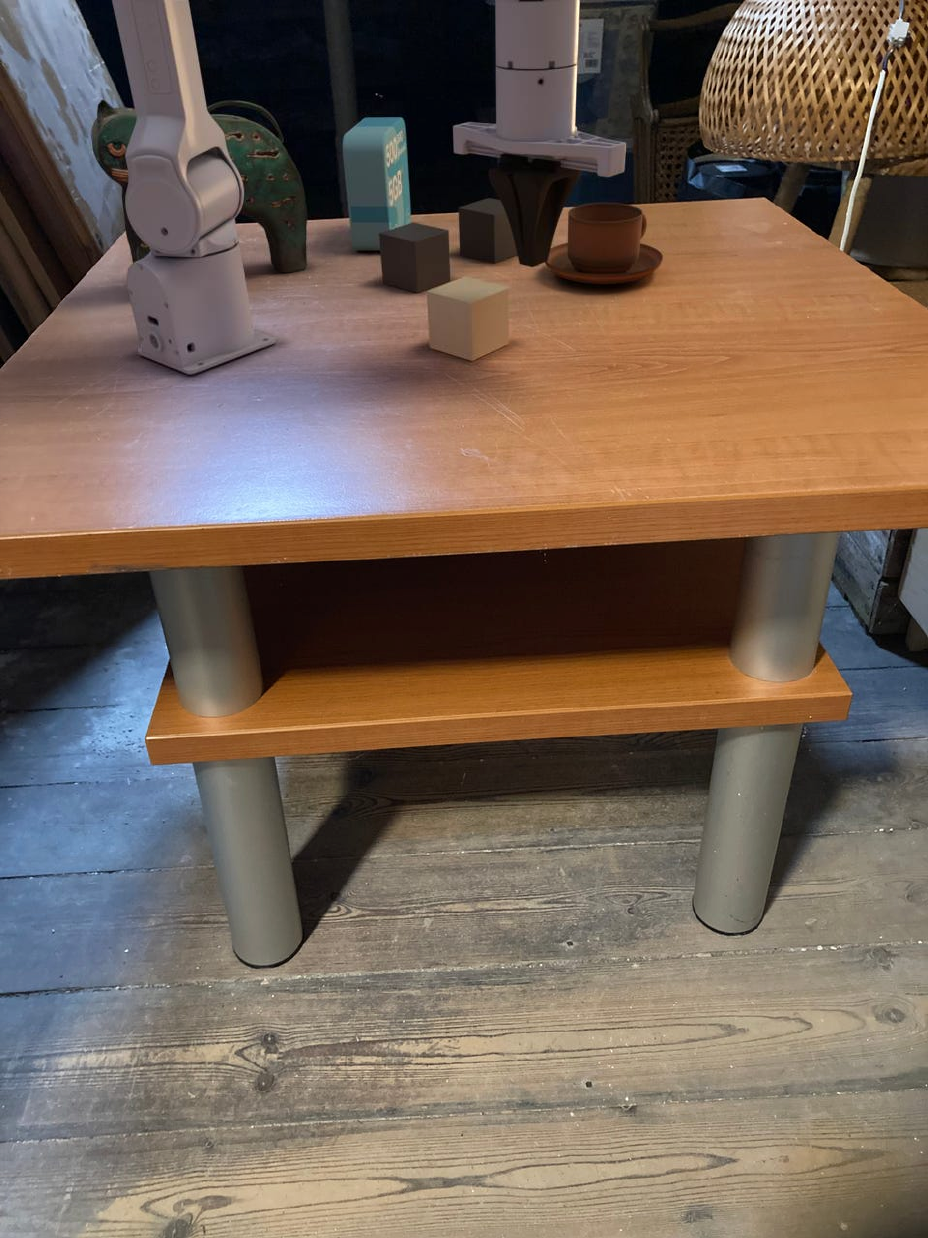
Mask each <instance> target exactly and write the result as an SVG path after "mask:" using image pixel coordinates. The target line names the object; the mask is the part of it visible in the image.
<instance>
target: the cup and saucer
mask: <svg viewBox="0 0 928 1238" xmlns="http://www.w3.org/2000/svg"><path fill="white" fill-rule="evenodd" d="M567 219H568V220H567V242H564V243H561V244H558V245H555V246H552V247H551V249H550V253H549V257H548V261H547V262H545V263H544V264H545V266H546V267H547V268H548V269H549V270H550V271H551V272H552V273H553V274H555V275H557V276H559V277H560V278H563V279H566V280H569V281H572V282H576V283H584V284H591V285H616V284H625V283H630V282H634V281H638V280H641V279H643V278H646V277H648V276H650V275H651V274H653V273H655V271H657V269H659V268H660V267H661V265H662V262H663V259H664V255H663V254H662V252H661V251H660V250H659V249H657V248H655V247H653V246H651V245H648V244H645V243H641V240H642V238H643V237H644V236H645V234H646V230H647V226H648V220H647V217H646V215H645V214H644V212H643V210H642V209H641V208H639V207H637V206H634V205H630V204H626V203H621V202H620V203H618V202H593V203H586V204H580V205H576V206H574V207H572V208H570V209H569V210H568V213H567Z"/></svg>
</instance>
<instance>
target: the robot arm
mask: <svg viewBox="0 0 928 1238" xmlns="http://www.w3.org/2000/svg"><path fill="white" fill-rule="evenodd" d="M580 1H581V0H494V2H495V4H494V6H495V8H494V9H495V121H496V122H495V123H483V122H474V121H468V122H464V123H460V124H459V123H458V124H455V125H452V135H453V136H452V137H453V139H452V141H453V153H454V154H458V155H467V154H475V155H481V156H486V157H487V156H488V157H492V158H493V157H494V158H498V159H499V162H498V166H496V167H493V168H491V169H489V171H488V181H489V183H490V184H491V186H492V187H493V189H494V191H495V193H496V194H497V196H498V199H499V200H501V203H502V205H503V207H504V209H505V212H506V215H507V217H508V220H509V223H510V227H511V230H512V234H513V238H514V242H515V246H516V250H517V254H518V255H517V258H518V262H519V265H521V266H524V267H525V266H526V267H529V268H530V267H531V268H534V267H537V266H539V265H542V264H545V262H547V261H548V257H549V253H550V249H551V248H552V246H553V245H552V244H553V240H554V237H555V233H556V230H557V226H558V223H559V220H560V218H561V215H562V213H563V210H564V208H565V206H566V203H567V201H568V200H569V199H568V198H569V197H570V195H571V193H572V191H573V189H574V187H575V185H576V183H577V182H578V180H579V179H580V177H581V173H582V171H583V172H591V173H596V175H597V176H598V177H605V178H610V177H613V176H616V175H619V174H622V173H624V172H625V169H626V168H625V167H626V166H625V165H626V151H627V142H624V141H618V140H612V139H609V138H605V137H601V136H598V135H595V134H594V135H593V134H589V133H587V132H582V131H580V130H578V127H577V126H576V111H577V109H576V107H577V80H578V79H577V78H578V57H579V54H578V53H579V27H580V5H581V4H580V3H581V2H580ZM111 2H112V7H113V10H114V16H115V21H116V25H117V31H118V35H119V39H120V44H121V49H122V55H123V59H124V63H125V68H126V72H127V77H128V83H129V87H130V91H131V97H132V101H133V106H134V109H135V111H136V116H137V121H136V124H135V127H134V130H133V133H132V136H131V139H130V141H129V144H128V147H127V150H126V155H125V157H126V162H127V166H128V172H129V182H128V187H127V192H126V197H125V205H126V212H127V216H128V219H129V221H130V224H131V225H132V227H133V229H134V231H135V232H136V234H137V235H138V236H139V237H140V238H141V239H142V241H144V242H145V243H146V244H147V245H148V246H149V247H150V252H149V254H148V255H147V256H146V257H144V258H143V259H141V260H139V261H136V262H134V263H133V262H132V263H131V264H130V265H129V267H128V268H127V272H126V287H127V293H128V296H129V301H130V305H131V310H132V314H133V317H134V321H135V326H136V330H137V335H138V338H139V343H140V347H139V348H138V349H137V353H138V355H139V356H142V357H145V358H147V359H150V360H152V361H155V362H157V363H159V364H162V365H164V366H166V367H169V368H171V369H174V370H177V371H179V372H181V373H184V374H186V375H195V374H198V373H201V372H202V371H205V370H208V369H211V368H213V367H217V366H219V365H222V364H224V363H226V362H229V361H232V360H235V359H237V358H240V357H242V356H245V355H248V354H250V353H253V352H256V351H259V350H260V349H263V348H266V347H268V346H271V345H274V344H275V343H276V342H277V340H276V337H275V336H273V335H271V334H268V333H265V332H261V331H259V330H256V329H254V324H253V318H252V312H251V305H250V299H249V292H248V287H247V281H246V275H245V270H244V268H245V267H244V264H243V257H242V256H243V255H242V250H241V245H240V239H239V233H238V230H237V225H236V217H237V216H238V215H240V214H239V212H240V210H241V208H242V205H243V201H244V187H243V182H242V179H241V176H240V174H239V172H238V170H237V168H236V167H235V165H234V163H233V162H232V160H231V158H230V156H229V153H228V150H227V146H226V141H225V135H224V133H223V131H222V130H221V128H220V127H219V125H218V124H217V123H216V122H215V121H214V119H213V118H212V117H211V116H210V112H209V113H208V111H207V107H208V106H207V101H206V96H205V89H204V83H203V78H202V72H201V66H200V60H199V54H198V48H197V43H196V37H195V30H194V24H193V19H192V14H191V8H190V1H189V0H111Z"/></svg>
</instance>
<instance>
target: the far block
mask: <svg viewBox="0 0 928 1238" xmlns="http://www.w3.org/2000/svg"><path fill="white" fill-rule="evenodd" d="M458 229H459V230H458V231H459V232H458V234H459V235H458V236H459V256H461V257H465V258H469V259H474V260H478V261H483V262H486V263H491V264H497V263H499V262H502V261H505V260H507V259H510V258H513V257H515V256H518V254H517V250H516V246H515V242H514V238H513V234H512V230H511V227H510V223H509V220H508V217H507V215H506V212H505V209H504V207H503V205H502V203H501V200H500V199H495V198H490V197H488V198H485V199H482V200H479V201H476V202H472V203H469V204H466V205H463V206H459V207H458Z"/></svg>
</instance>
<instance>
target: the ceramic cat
mask: <svg viewBox="0 0 928 1238" xmlns="http://www.w3.org/2000/svg"><path fill="white" fill-rule="evenodd" d="M225 106H235V107H240V108H241V107H242V108H249V109H253V110H256V111H258V112H260V113H261V114H262V115H263V116H265V117H266V118H267V119H268V120H269V121H270V122H271V124H272V125H273V126H274V128H275V130H276V133H277V135H278V136H276V135H275V134H274V133H273V131H272V132H271V130H269V129H267V128H266V127H265V126H263V125H261V124H260V123H258V122H255V121H252V120H249V119H247V118H245V117H243V116H242V117H241V116H238V115H237V116H236V115H230V114H220V113H218V114H217V113H215V114H214V113H213V114H212V113H211V114H210V112H211V111H213V110H215V109H217V108H220V107H225ZM206 107H207V111H208V113H209V114H210V116H211V117H212V118H213V119H214V121H215V122H216V123H217V124H218V125H219V127H220V128H221V130H222V131H223V133H224V135H225V141H226V146H227V150H228V153H229V156H230V158H231V160H232V162H233V163H234V165H235V167H236V168H237V170H238V172H239V174H240V176H241V179H242V182H243V187H244V201H243V205H242V208H241V210H240V212H239V214H238V215H242V216H245V217H248V218H249V219H251V220H253V222H256V223H258V225H259V226H260V227H261V228H262V229H263V231H264V233H265V238H266V239H267V245H268V250H269V256H270V263H271V266H272V267H273V269H276V270H277V271H278V272H279V273H294V272H299V271H302V270H305V269H306V268H307V266H308V261H307V260H308V257H307V256H308V255H307V253H308V252H307V238H308V237H307V233H308V231H307V229H308V228H307V226H308V208H307V203H306V195H305V189H304V184H303V181H302V178H301V175H300V173H299V170H298V168H297V166H296V165H295V163H294V161H293V159H292V158H291V156H290V154H289V153H288V150H287V148H286V147H285V146H284V144H283V143H284V142H285V140H284V136H283V134H282V131H281V128H280V127H279V125H278V122H277V121H276V119H275V118H274V116H273V115H272V114H271V113H270V112H269V111H268V110H267V109H265V108H264V107H263V106H261V105H259V104H256V103H252V102H249V101H243V100H222V101H218V102H216V103H213V104H210V105H208V106H206ZM136 121H137V116H136V111H135V108H132V107H131V108H130V107H123V106H117V107H113V106H112V105H111V104H110V103H109V102H107V101H106V100H105V99H103V98H102V99H101V100H100V101H99V103H98V104H97V109H96V118H95V119H94V121H93V123H92V125H91V132H90V138H91V148H92V152H93V156H94V158H95V160H96V162H97V164H98V166H99V167H100V168H101V170H102V171H103V172H104V173H105V174H106V176H108V177H109V179H111V180H112V181H114V182H115V183H116V184H118V185H119V186H120V187H121V203H122V212H123V219H124V230H125V235H126V240H127V243H128V245H129V251H130V256H131V260H132V264H133V263H134V262H136V261H139V260H141V259H143V258H144V257H146V256H147V255H148V254H149V252H150V247H149V246H148V245H147V244H146V243H145V242H144V241H142V239H141V238H140V237H139V236H138V235H137V234H136V232H135V231H134V229H133V227H132V225H131V224H130V221H129V219H128V216H127V212H126V205H125V197H126V192H127V187H128V182H129V172H128V166H127V162H126V157H125V155H126V150H127V147H128V144H129V141H130V139H131V136H132V133H133V130H134V127H135V124H136Z"/></svg>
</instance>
